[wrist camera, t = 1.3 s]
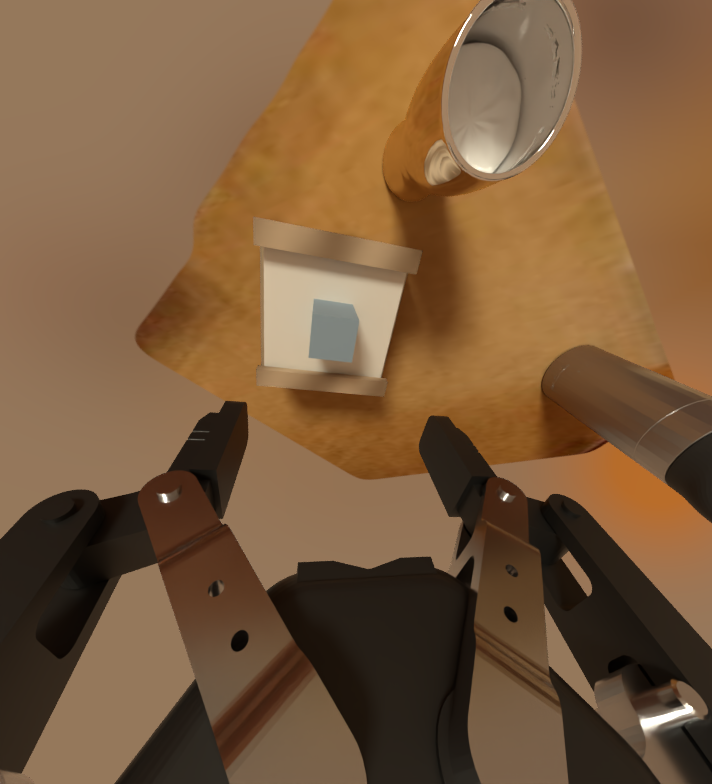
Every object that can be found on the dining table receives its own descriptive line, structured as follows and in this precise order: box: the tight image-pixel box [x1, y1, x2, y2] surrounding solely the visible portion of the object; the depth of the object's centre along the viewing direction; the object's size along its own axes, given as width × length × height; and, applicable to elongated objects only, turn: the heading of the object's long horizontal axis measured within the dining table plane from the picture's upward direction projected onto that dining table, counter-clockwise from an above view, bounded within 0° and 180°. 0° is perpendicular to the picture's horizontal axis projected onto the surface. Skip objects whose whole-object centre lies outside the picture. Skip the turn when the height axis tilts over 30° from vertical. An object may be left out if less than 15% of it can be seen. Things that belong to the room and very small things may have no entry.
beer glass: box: [383, 0, 582, 202], centre depth 18 cm, size 7×7×15 cm
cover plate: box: [264, 247, 406, 378], centre depth 23 cm, size 12×12×6 cm
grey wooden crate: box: [253, 217, 423, 397], centre depth 27 cm, size 13×14×8 cm
